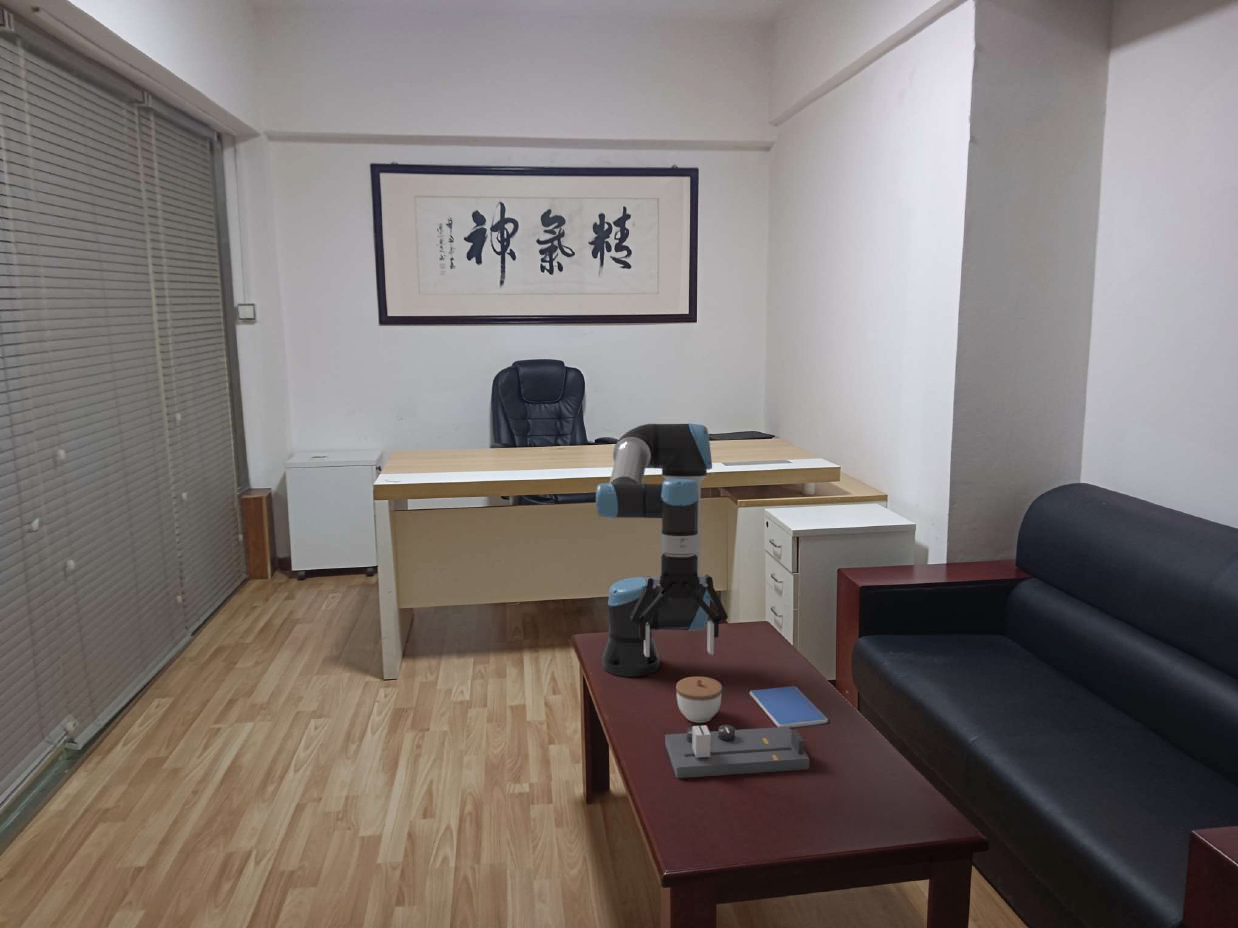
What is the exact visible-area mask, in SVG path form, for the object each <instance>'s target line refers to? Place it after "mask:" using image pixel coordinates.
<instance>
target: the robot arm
mask: <svg viewBox="0 0 1238 928" xmlns="http://www.w3.org/2000/svg"><path fill="white" fill-rule="evenodd" d="M612 458H613V462H614V465H613V467H612V471H611V475H610V479H609V482H606V483H599V484H598V485H596V491H595V508H596V514H597V515H598V516H599V517H600V518H611V519H661V547H660V548H661V549H660V551H661V552H662V553H663V554H662V555H661V558H660V559H661V561H660V563H661V564H660V565H661V566H660V569H661V570H660V571H661V574H660V577H659V578H656V577H651V575H649V576H647V577H643V576H642V577H641V576H638V577H637V576H635V577H629V578H624V579H621V580H618V581H616V582H615V583H613V584H612V585H611V586H610V588H609V590H608V602H607V605H608V639H607V643H606V646H605V649H604V652H603V655H602V667H603V669H604V670H605V671H606V672H607V673H610V674H612V675H615V676H619V677H630V678H631V677H633V678H635V677H643V676H647V675H650V674H653V673H654V672H656V671H658V669H659V668H660V656H659V652H658V650H657V646H656V643H655V641H654V640H655V639H654V637H653V636H654V635H653V633H654V631H684V632H685V631H686V632H688V633H689V632H692V631H693V632H695V631H696V632H697V631H703V630H704V629H705V628H706V626H707V631H706V632H707V633H706V634H707V637H706V639H707V641H706V643H707V644H706V647H707V649H706V650H707V653H708V654H709V655H711V656H712V655H714V653H715V651H714V650H715V646H714V645H715V638H719V634H720V633H719V631H720V629H719V628H720V627H719V626H720V623H721V621H726V620H727V619H728V618H729V617H728V614H727V612H726V610H725V608H724V605H723V604H722V602H721V600H720V598H719V596H718V594H717V592H716V590H715V588H714V582H713V581H714V580H713V578H712V576H710V574H705V575H704V576H703V575H702V574H701V503H702V502H701V501H702V500H701V488H702V487H701V486H702V485H701V484H702V481H703V480H705V478H707V476H708V475H707V471H708V470H711V469H713V462H712V452H711V443H710V436H709V429H708V428H707V426H705V425H703V424H699V423H698V424H696V423H690V422H689V423H646V424H643V425H642V424H640V425H639V426H636V427H634V428H632V429H630V430H629V431H627V432H626V433H624V434H623V435H622V436H621V437H620V438H619V439H618V440H617V441H616V442H615V445H614V448H613V453H612ZM646 469H661V477H663V478H664V481H662V483H644V479H645V478H644V477H645V472H646ZM711 601H712V603H713V606H714V607H715V608H716V612H717V613H715V612H714V611H713V610H712V609H711V608H710V604H711V603H710V602H711ZM708 617H709V618H710V619H711V620H708Z"/></svg>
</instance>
